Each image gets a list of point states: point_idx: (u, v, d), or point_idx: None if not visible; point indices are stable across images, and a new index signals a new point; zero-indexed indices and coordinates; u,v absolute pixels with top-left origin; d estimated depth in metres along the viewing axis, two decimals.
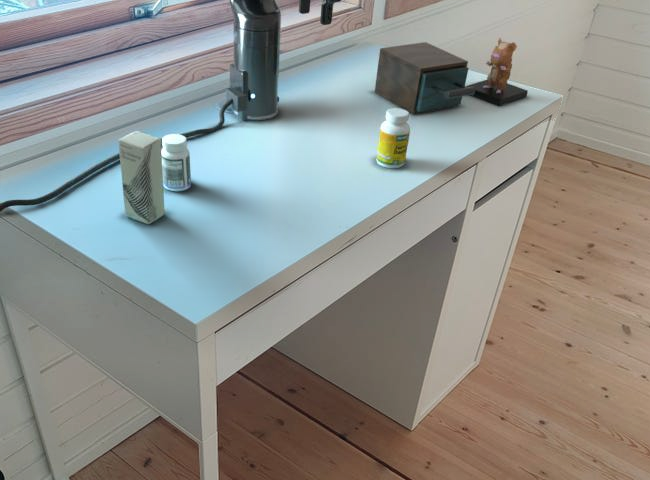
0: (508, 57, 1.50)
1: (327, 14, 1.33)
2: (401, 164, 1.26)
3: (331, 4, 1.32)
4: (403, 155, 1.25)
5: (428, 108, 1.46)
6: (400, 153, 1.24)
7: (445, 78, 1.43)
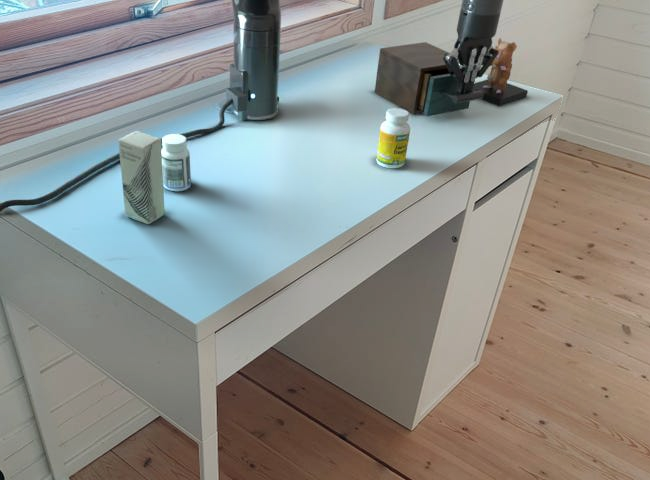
0: (508, 57, 1.50)
1: (457, 89, 1.40)
2: (401, 164, 1.26)
3: (460, 81, 1.38)
4: (403, 155, 1.25)
5: (436, 112, 1.44)
6: (400, 153, 1.24)
7: (453, 81, 1.41)
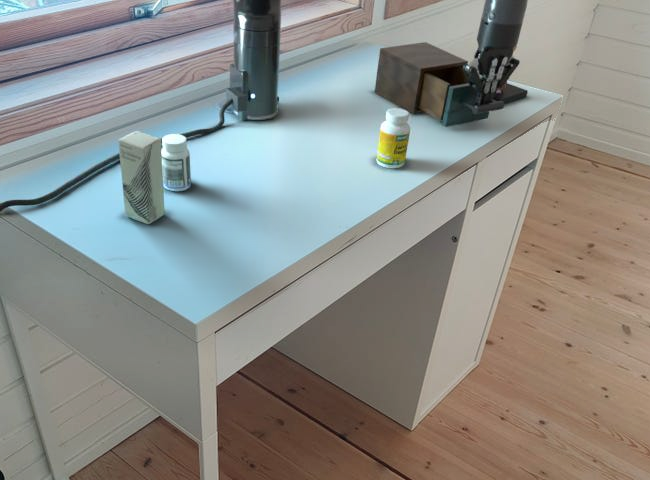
0: None
1: (476, 100, 1.36)
2: (401, 164, 1.26)
3: (480, 92, 1.34)
4: (403, 155, 1.25)
5: (454, 123, 1.40)
6: (400, 153, 1.24)
7: (472, 91, 1.37)
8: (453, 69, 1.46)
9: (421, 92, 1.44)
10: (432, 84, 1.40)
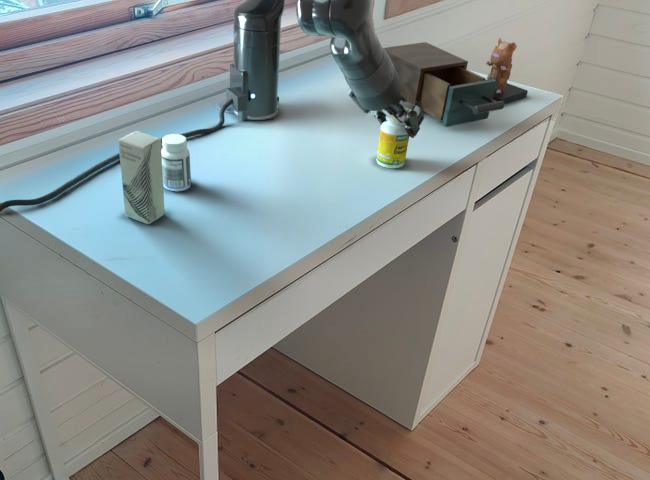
0: (508, 57, 1.50)
1: None
2: (401, 164, 1.26)
3: None
4: (403, 155, 1.25)
5: (454, 123, 1.40)
6: (400, 153, 1.24)
7: (473, 91, 1.37)
8: (453, 69, 1.46)
9: (421, 92, 1.44)
10: (432, 84, 1.40)
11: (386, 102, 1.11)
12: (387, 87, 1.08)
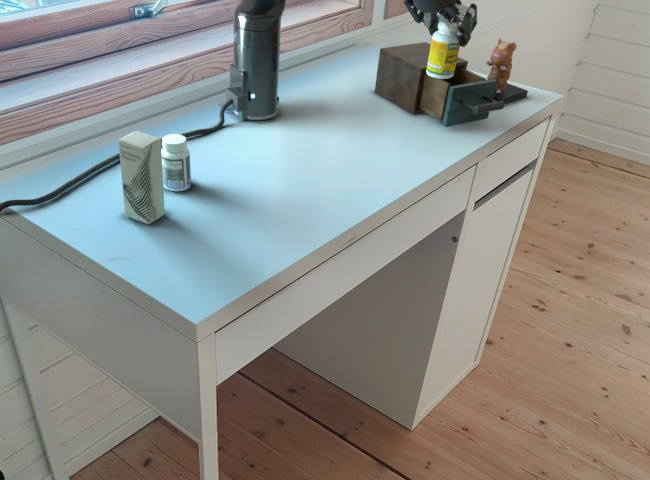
0: (508, 57, 1.50)
1: None
2: (451, 75, 1.29)
3: None
4: (453, 66, 1.28)
5: (454, 123, 1.40)
6: (450, 63, 1.27)
7: (473, 91, 1.37)
8: None
9: (421, 92, 1.44)
10: (432, 84, 1.40)
11: (443, 3, 1.15)
12: None
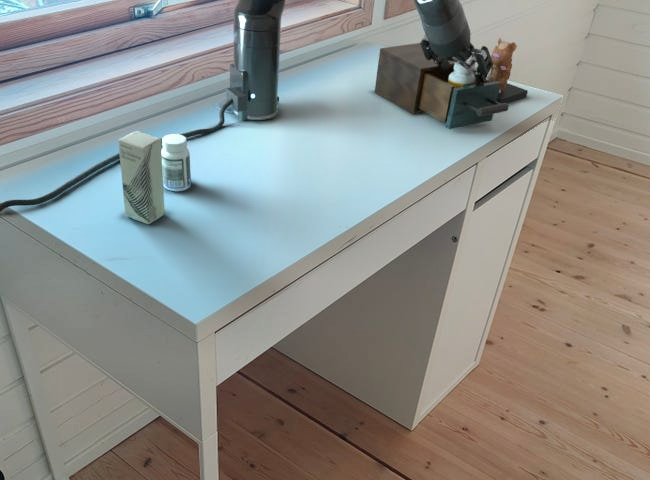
0: (508, 57, 1.50)
1: None
2: None
3: None
4: None
5: (458, 125, 1.39)
6: None
7: (477, 93, 1.36)
8: None
9: (425, 94, 1.43)
10: (436, 86, 1.39)
11: (457, 48, 1.27)
12: (460, 34, 1.25)
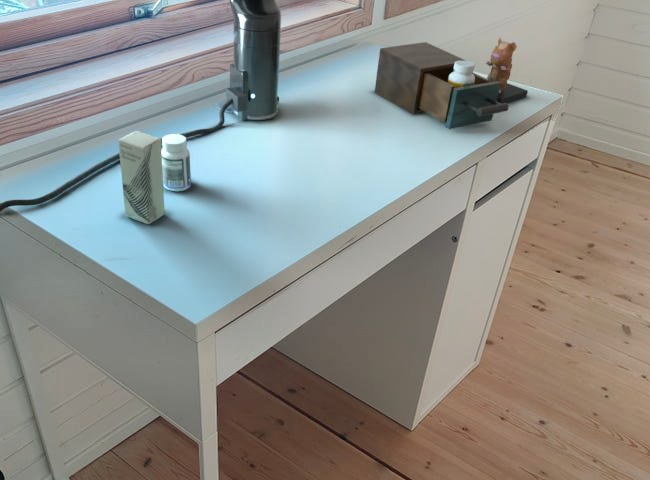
0: (508, 57, 1.50)
1: None
2: None
3: None
4: None
5: (458, 125, 1.39)
6: None
7: (477, 93, 1.36)
8: None
9: (425, 94, 1.43)
10: (436, 86, 1.39)
11: None
12: None
